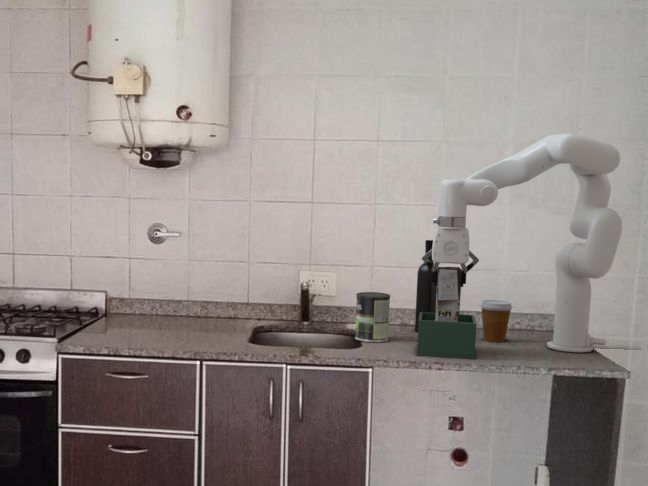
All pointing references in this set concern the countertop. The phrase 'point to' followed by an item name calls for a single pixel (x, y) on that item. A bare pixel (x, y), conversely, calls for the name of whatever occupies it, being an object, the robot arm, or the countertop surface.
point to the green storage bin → (446, 336)
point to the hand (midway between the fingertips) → (448, 285)
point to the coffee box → (448, 294)
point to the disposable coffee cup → (495, 319)
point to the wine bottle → (425, 288)
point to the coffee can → (372, 317)
